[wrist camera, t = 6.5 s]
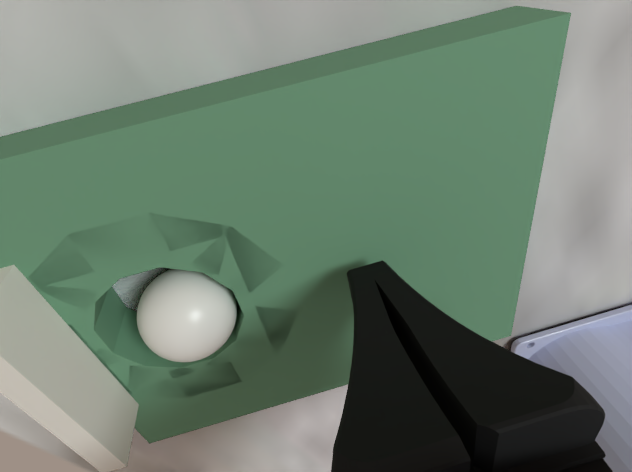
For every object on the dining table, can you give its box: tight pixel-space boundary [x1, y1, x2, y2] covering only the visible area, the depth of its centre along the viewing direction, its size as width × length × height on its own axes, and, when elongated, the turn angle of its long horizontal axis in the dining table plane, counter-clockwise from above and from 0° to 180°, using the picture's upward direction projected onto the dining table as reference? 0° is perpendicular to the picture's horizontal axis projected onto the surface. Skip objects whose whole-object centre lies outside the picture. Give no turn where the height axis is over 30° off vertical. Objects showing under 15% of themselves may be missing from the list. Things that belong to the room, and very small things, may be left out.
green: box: [0, 6, 571, 472], centre depth 14 cm, size 18×14×5 cm
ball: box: [137, 269, 237, 362], centre depth 15 cm, size 4×4×4 cm
